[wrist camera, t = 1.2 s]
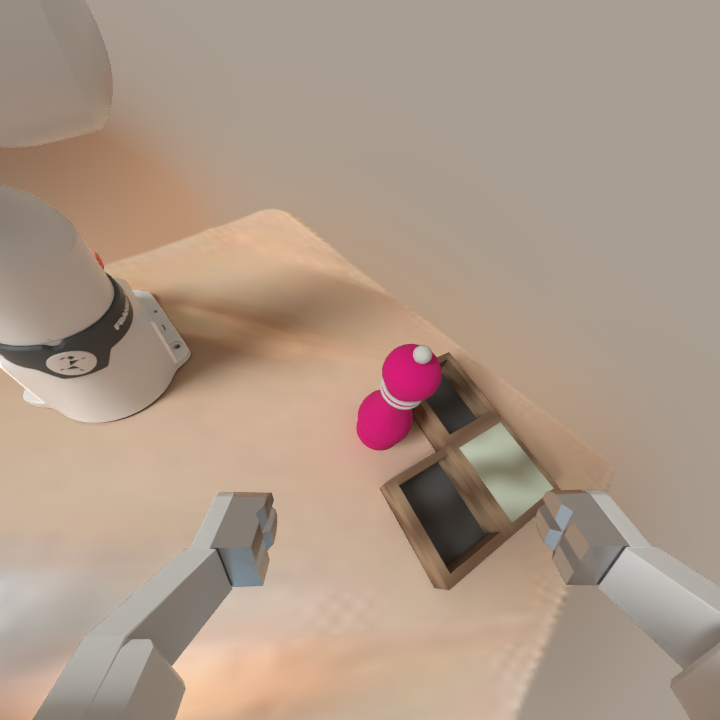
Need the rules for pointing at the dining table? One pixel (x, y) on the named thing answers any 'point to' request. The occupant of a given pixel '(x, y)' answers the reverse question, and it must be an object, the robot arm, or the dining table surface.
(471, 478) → the box
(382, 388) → the pepper mill
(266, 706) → the dining table surface
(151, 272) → the dining table surface
